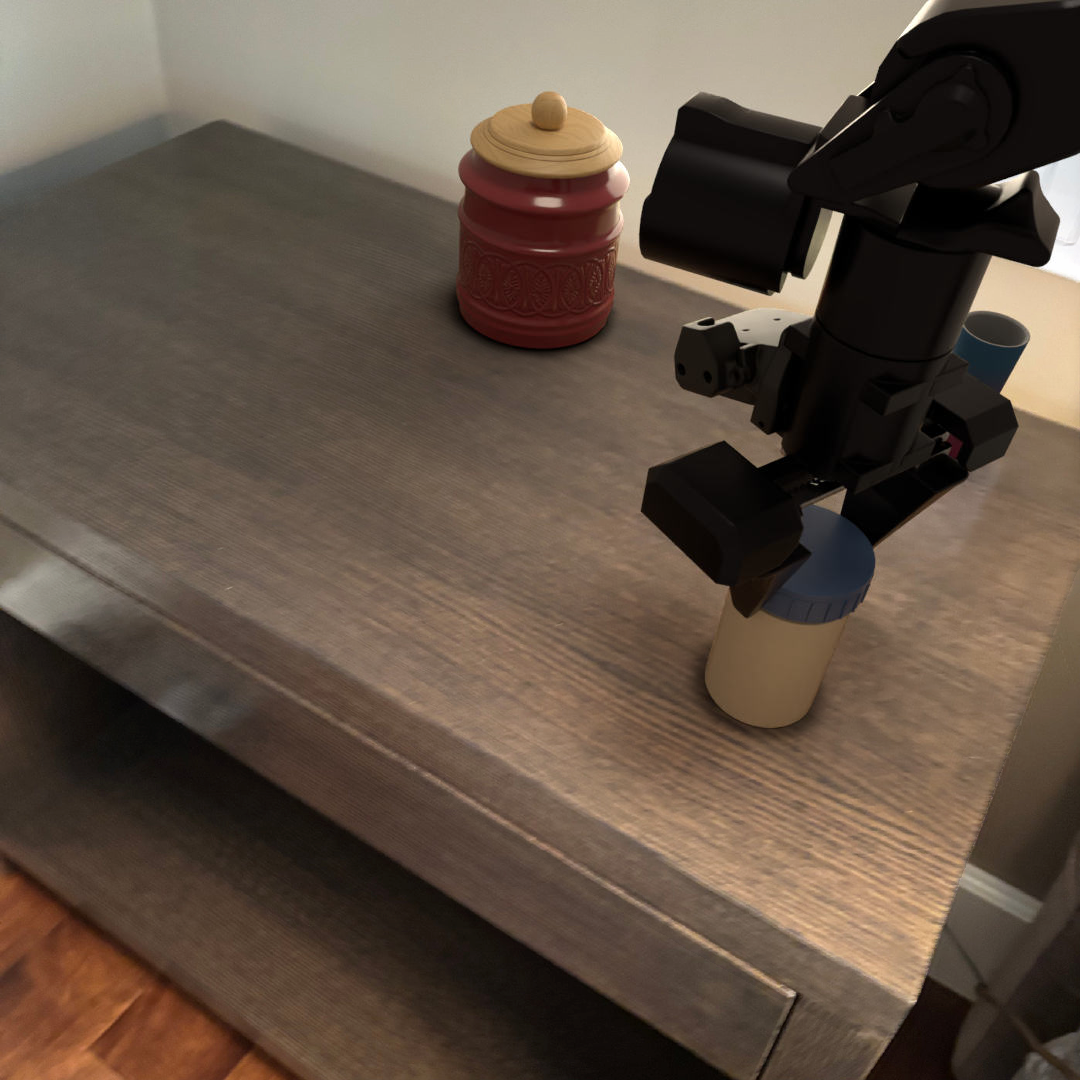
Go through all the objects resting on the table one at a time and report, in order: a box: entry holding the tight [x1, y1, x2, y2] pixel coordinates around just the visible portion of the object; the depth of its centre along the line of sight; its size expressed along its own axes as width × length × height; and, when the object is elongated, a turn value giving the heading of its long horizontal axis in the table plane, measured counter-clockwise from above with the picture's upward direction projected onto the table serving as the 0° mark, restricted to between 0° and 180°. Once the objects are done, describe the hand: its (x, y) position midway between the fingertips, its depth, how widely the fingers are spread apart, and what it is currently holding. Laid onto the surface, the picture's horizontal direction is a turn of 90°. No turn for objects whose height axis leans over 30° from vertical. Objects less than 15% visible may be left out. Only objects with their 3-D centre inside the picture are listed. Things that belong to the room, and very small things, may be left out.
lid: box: [762, 504, 877, 623], centre depth 51 cm, size 7×7×2 cm
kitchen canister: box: [455, 90, 631, 349], centre depth 79 cm, size 13×13×18 cm
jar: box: [704, 588, 851, 729], centre depth 55 cm, size 6×6×10 cm
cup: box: [946, 310, 1031, 460], centre depth 72 cm, size 4×4×10 cm
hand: (792, 586), depth 53 cm, fingers closed on lid, 7 cm apart
